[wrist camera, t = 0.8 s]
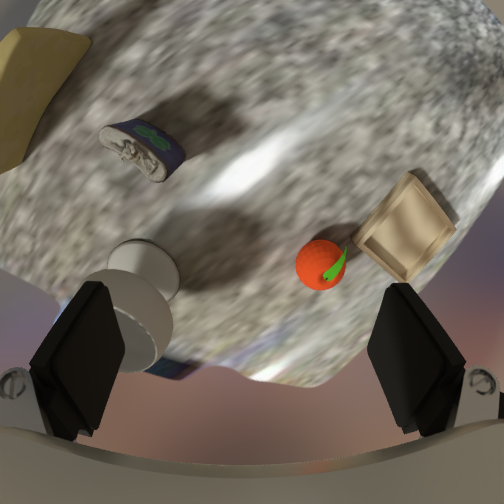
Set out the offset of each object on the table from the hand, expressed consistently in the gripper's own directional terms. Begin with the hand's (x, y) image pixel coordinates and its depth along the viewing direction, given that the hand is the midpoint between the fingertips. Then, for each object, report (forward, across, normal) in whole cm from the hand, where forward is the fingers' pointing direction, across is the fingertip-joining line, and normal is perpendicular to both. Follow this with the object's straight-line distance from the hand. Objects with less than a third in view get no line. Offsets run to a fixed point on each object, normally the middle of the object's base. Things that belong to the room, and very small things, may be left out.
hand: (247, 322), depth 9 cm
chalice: (+31, +16, +17) cm, 39 cm away
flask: (+30, +11, -3) cm, 33 cm away
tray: (+30, -25, +8) cm, 40 cm away
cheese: (+30, +30, -12) cm, 44 cm away
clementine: (+31, -11, +12) cm, 35 cm away
